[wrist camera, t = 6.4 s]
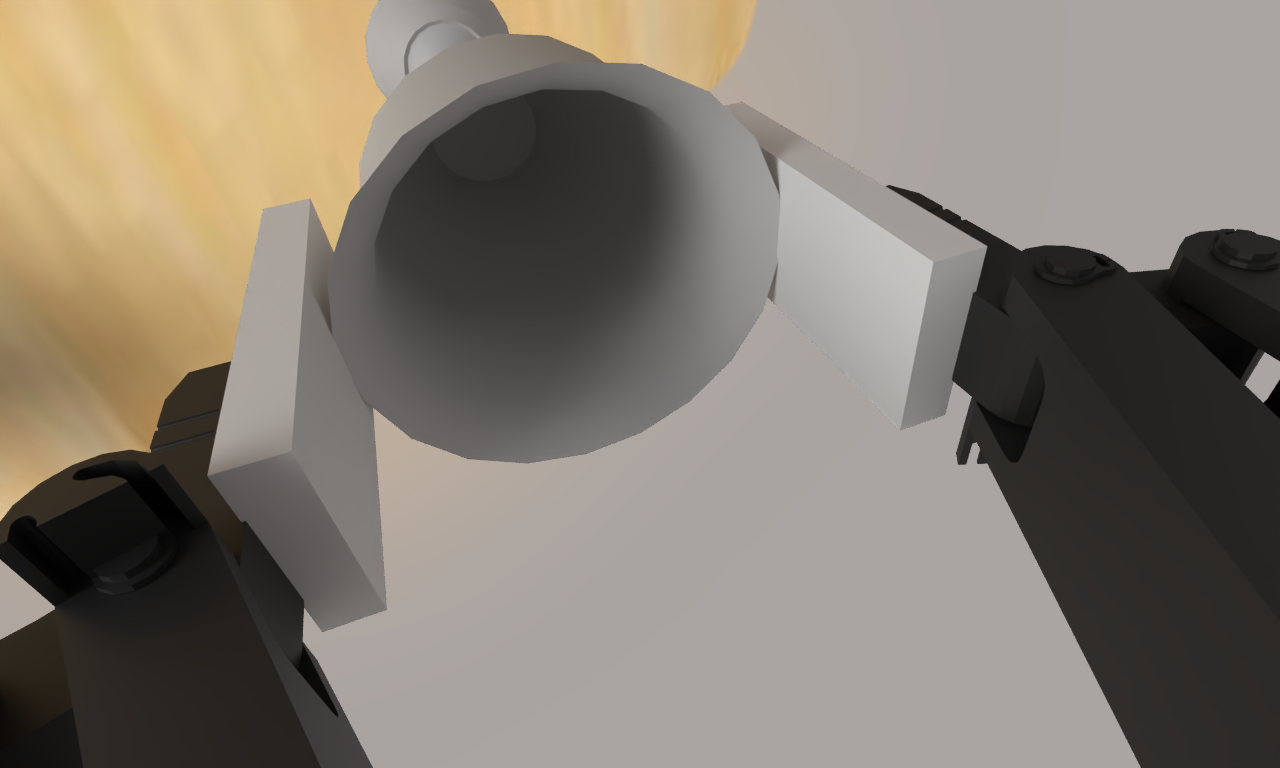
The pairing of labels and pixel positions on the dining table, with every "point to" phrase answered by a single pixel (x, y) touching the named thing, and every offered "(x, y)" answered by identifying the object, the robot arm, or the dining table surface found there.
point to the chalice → (541, 239)
